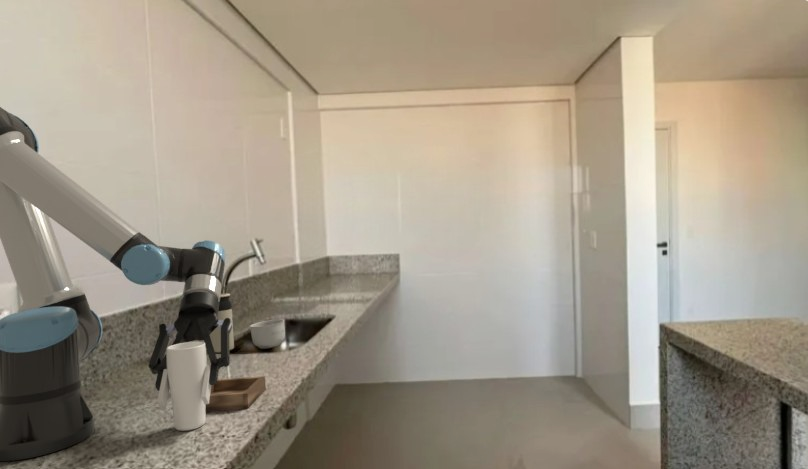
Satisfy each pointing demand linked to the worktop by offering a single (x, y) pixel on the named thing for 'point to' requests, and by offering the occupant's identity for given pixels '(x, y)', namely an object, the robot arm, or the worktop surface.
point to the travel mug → (223, 313)
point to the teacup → (268, 333)
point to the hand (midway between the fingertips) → (183, 403)
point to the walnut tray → (235, 393)
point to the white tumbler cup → (187, 383)
